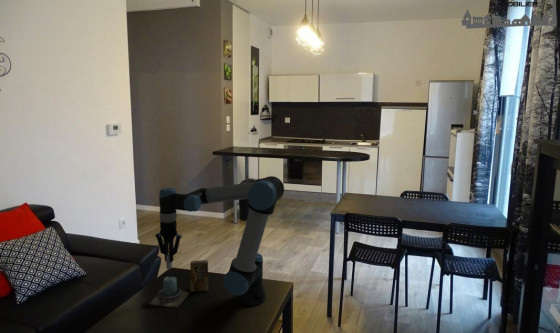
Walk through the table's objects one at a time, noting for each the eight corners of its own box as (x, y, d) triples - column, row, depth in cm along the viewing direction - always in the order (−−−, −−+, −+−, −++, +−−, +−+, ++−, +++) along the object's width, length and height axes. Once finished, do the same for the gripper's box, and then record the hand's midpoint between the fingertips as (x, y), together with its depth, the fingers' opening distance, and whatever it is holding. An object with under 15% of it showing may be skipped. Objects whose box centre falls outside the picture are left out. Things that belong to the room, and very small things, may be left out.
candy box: (208, 287, 197) (207, 259, 195) (208, 291, 193) (208, 262, 191) (190, 288, 196) (190, 260, 193) (190, 292, 191) (190, 263, 189)
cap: (179, 294, 187) (178, 276, 185) (173, 301, 180) (172, 282, 179) (167, 293, 188) (166, 274, 186) (161, 299, 182) (160, 280, 180)
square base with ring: (189, 294, 190) (189, 287, 189) (176, 308, 176) (176, 301, 176) (164, 290, 193) (163, 284, 192) (149, 304, 179) (149, 297, 178)
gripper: (184, 219, 181) (185, 266, 184) (159, 217, 183) (160, 263, 187) (177, 224, 174) (178, 272, 177) (151, 221, 176) (152, 269, 180)
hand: (169, 267), depth 182 cm, fingers closed
